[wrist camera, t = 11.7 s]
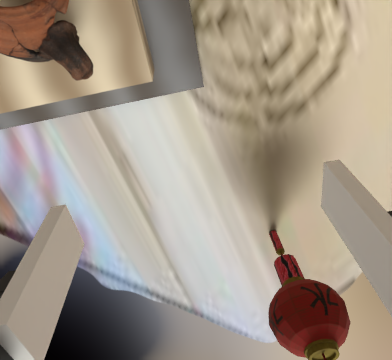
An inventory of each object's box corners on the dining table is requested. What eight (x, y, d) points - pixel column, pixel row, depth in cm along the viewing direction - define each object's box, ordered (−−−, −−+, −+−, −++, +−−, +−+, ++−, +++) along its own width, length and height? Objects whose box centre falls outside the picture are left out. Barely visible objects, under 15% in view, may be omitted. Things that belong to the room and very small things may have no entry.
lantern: (252, 207, 48) (346, 460, 23) (310, 213, 49) (459, 456, 24) (237, 252, 53) (301, 502, 27) (290, 256, 54) (397, 497, 29)
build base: (155, -184, 26) (152, -230, 20) (202, 83, 37) (208, 100, 32) (-145, -111, 27) (-226, -135, 21) (-7, 127, 38) (-37, 151, 33)
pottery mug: (-45, 18, 27) (-118, -46, 19) (35, -55, 28) (-3, -145, 20) (67, 117, 29) (44, 97, 21) (137, 45, 30) (140, 1, 22)
